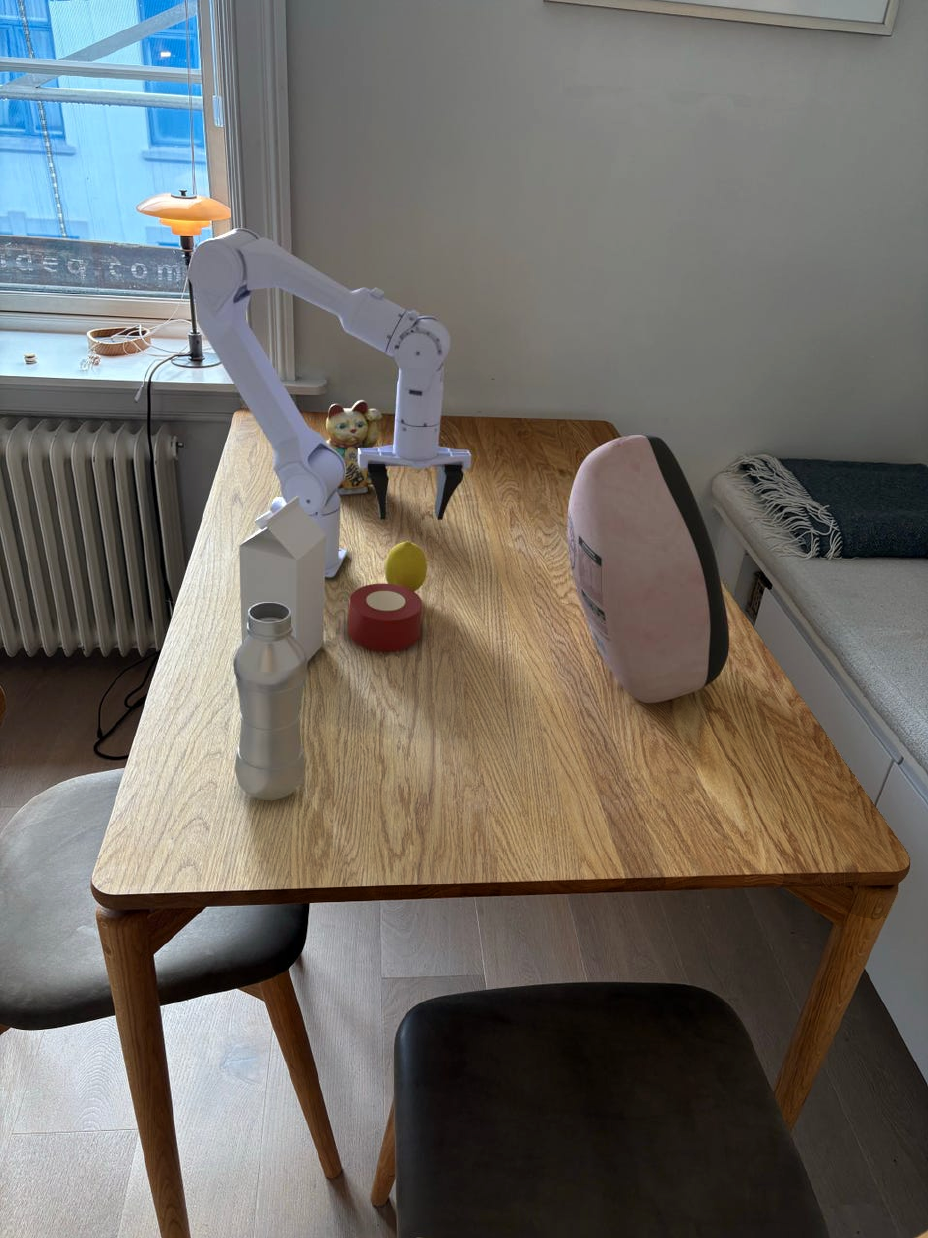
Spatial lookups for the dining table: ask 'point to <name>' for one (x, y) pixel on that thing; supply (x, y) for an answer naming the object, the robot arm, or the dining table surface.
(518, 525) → the dining table surface
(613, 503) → the pink backpack
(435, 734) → the dining table surface
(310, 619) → the milk carton
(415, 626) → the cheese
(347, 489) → the decorative figurine
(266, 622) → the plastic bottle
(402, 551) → the lemon
